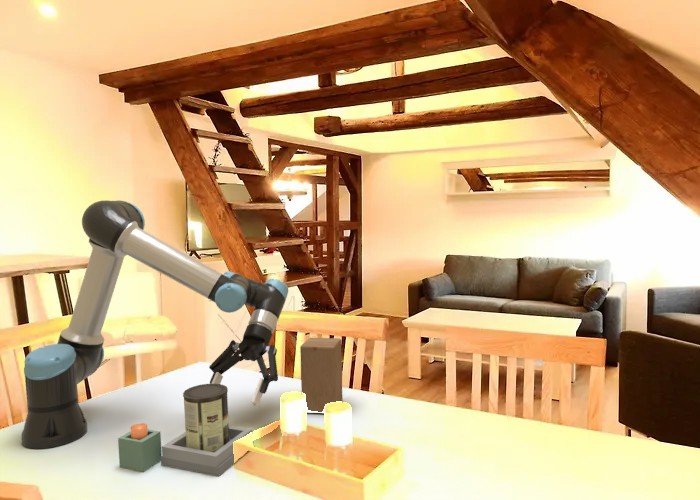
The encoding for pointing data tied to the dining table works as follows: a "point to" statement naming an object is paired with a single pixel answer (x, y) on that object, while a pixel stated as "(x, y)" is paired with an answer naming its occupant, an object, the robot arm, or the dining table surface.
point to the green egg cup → (140, 451)
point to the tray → (201, 454)
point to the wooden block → (321, 372)
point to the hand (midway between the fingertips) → (231, 400)
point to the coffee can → (206, 417)
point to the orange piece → (139, 431)
